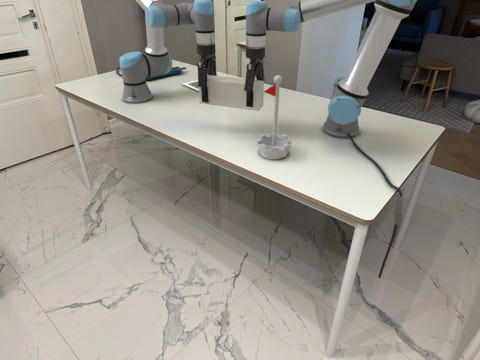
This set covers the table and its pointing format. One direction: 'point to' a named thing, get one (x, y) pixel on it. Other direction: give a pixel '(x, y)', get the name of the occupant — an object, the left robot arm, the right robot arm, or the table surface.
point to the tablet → (192, 85)
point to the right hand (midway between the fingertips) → (254, 101)
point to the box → (232, 92)
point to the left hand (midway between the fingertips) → (208, 99)
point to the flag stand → (274, 131)
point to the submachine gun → (173, 71)
